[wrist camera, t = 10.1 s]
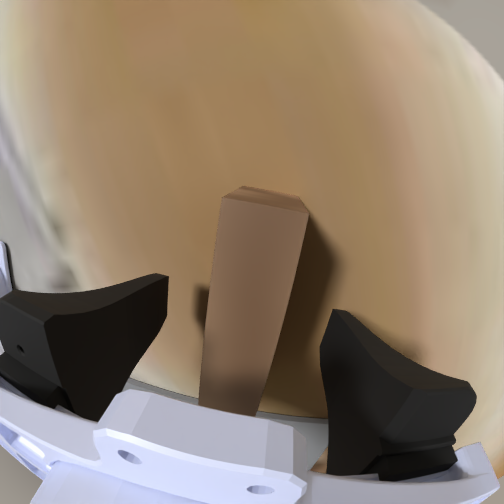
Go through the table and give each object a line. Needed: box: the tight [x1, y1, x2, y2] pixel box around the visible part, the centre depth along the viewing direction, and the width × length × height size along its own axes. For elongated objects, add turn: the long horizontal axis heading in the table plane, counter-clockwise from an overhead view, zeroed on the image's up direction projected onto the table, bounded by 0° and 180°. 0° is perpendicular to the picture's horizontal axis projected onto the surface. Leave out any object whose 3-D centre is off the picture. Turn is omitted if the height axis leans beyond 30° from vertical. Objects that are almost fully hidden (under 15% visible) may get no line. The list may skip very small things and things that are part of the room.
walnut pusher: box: [198, 186, 309, 417], centre depth 12 cm, size 2×10×5 cm, turn 170°
